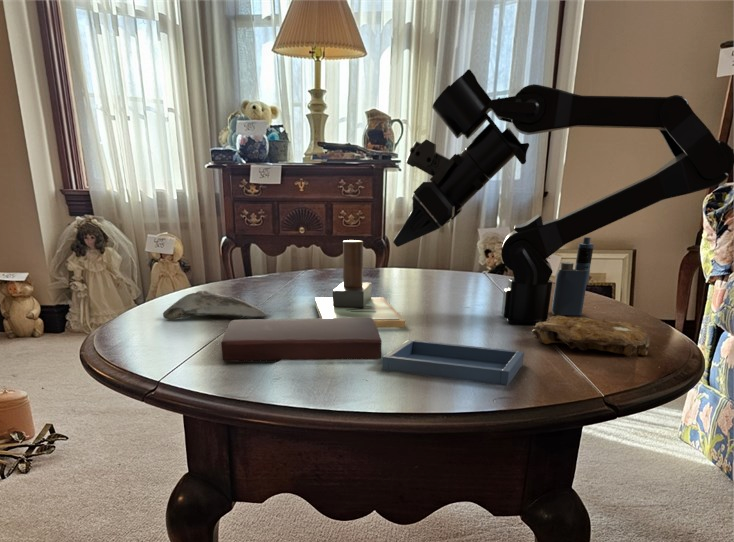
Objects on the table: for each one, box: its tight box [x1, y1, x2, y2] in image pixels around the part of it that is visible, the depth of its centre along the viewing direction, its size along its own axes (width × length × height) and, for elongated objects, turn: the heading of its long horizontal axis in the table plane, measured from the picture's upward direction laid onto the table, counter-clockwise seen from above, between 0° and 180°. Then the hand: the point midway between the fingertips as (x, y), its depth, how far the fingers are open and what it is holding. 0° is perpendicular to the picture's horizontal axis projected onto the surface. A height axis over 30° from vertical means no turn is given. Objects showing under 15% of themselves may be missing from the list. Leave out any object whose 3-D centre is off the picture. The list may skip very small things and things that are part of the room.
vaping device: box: [551, 237, 595, 317], centre depth 107 cm, size 3×5×12 cm, turn 89°
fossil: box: [162, 290, 267, 320], centre depth 105 cm, size 11×5×15 cm
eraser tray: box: [381, 339, 525, 386], centre depth 77 cm, size 15×10×2 cm, turn 67°
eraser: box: [332, 239, 373, 308], centre depth 107 cm, size 10×5×10 cm, turn 172°
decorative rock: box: [531, 315, 651, 357], centre depth 87 cm, size 11×4×15 cm
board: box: [314, 296, 406, 329], centre depth 105 cm, size 20×12×2 cm, turn 7°
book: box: [220, 317, 382, 363], centre depth 84 cm, size 12×19×3 cm, turn 94°
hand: (400, 241), depth 103 cm, fingers open, 9 cm apart
